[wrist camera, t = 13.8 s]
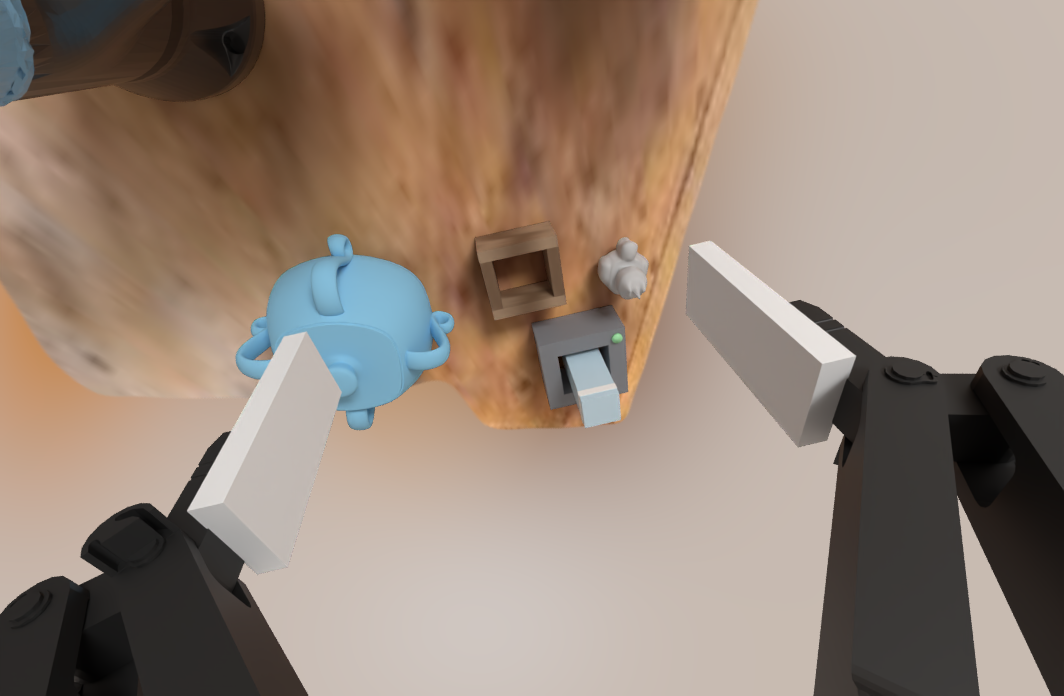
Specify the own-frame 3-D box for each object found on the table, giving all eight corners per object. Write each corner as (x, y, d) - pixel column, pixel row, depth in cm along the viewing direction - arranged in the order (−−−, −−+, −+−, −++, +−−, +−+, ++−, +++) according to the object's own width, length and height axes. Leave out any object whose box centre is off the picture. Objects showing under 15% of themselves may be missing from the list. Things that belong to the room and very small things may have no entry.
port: (544, 384, 59) (551, 411, 55) (531, 323, 53) (538, 348, 49) (616, 367, 59) (628, 393, 55) (611, 305, 54) (625, 328, 49)
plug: (558, 337, 55) (580, 401, 45) (590, 329, 55) (619, 392, 46) (562, 362, 58) (584, 428, 48) (592, 355, 58) (621, 420, 48)
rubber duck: (591, 285, 52) (610, 321, 45) (596, 230, 48) (619, 261, 41) (635, 283, 52) (661, 317, 46) (644, 229, 48) (674, 258, 42)
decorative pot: (366, 386, 55) (346, 473, 44) (247, 300, 46) (185, 383, 36) (466, 313, 51) (471, 389, 40) (357, 204, 43) (325, 264, 32)
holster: (491, 302, 51) (494, 320, 48) (475, 237, 46) (476, 252, 43) (559, 287, 51) (566, 304, 48) (549, 221, 46) (556, 235, 43)
